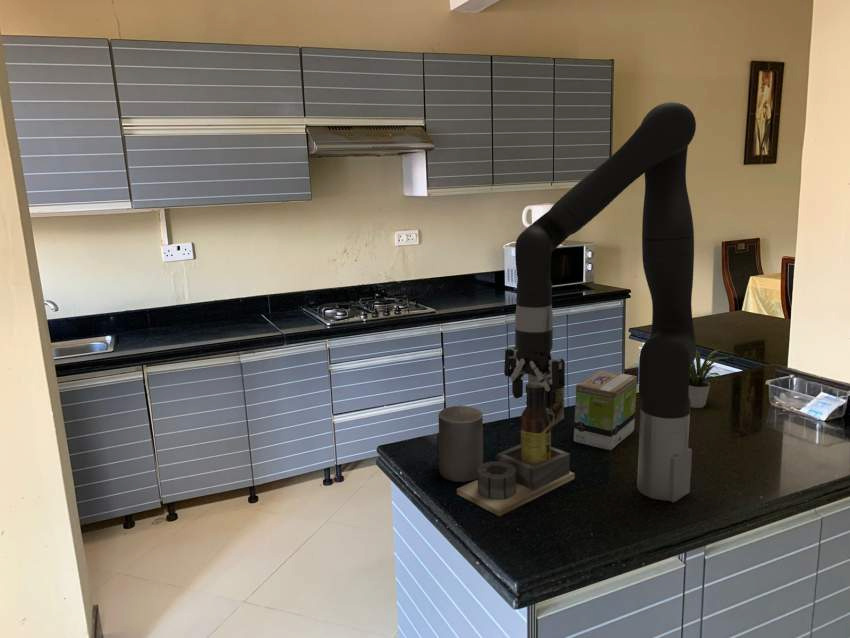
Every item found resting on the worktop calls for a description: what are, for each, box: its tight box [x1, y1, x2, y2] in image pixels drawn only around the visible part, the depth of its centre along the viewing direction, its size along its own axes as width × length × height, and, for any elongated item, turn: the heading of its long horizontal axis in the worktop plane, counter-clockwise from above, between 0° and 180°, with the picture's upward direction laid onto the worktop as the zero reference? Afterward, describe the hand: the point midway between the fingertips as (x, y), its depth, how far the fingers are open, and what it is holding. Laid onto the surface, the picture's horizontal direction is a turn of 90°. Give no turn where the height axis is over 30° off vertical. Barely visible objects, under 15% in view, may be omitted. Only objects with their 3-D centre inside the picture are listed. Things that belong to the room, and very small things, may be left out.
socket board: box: [456, 443, 576, 517], centre depth 134 cm, size 12×23×6 cm, turn 130°
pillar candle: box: [438, 405, 484, 483], centre depth 140 cm, size 10×10×15 cm
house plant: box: [689, 349, 729, 409], centre depth 176 cm, size 14×14×16 cm
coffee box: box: [527, 360, 566, 428], centre depth 167 cm, size 9×6×16 cm
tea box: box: [573, 369, 638, 451], centre depth 157 cm, size 15×10×15 cm, turn 143°
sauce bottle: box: [520, 382, 552, 466], centre depth 135 cm, size 6×6×20 cm
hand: (533, 402), depth 134 cm, fingers open, 8 cm apart
